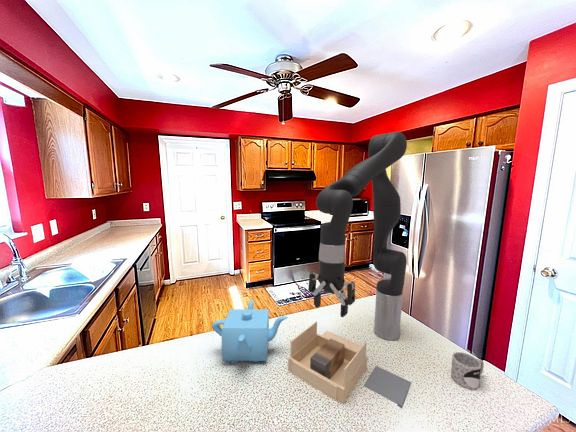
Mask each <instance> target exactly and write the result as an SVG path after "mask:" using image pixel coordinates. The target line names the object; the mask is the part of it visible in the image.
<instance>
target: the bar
mask: <svg viewBox="0 0 576 432" xmlns="http://www.w3.org/2000/svg"><path fill="white" fill-rule="evenodd" d="M344 347H345V345H344V344H342V343H340V342H338V341H335V340H333V339H329V340H328V341H327V342H326V343H325V344H324V345H323V346H322V347H321V348H320V349H319V350H318V351H317V352H316V353H315V354H314V355H313V356H312V357H311V359H310V369H312V370H314V371H315V372H317V373H319V374H321V375H322V376H324V377H326V378H328V379H329V380H330V379H331V377H332V376H333V375H334V374H335V372H336V371H337V370H338V369H339V368H340V366H341V365H342V364H343V363H344Z"/></svg>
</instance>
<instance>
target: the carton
mask: <svg viewBox="0 0 576 432" xmlns="http://www.w3.org/2000/svg"><path fill="white" fill-rule="evenodd" d="M317 332H318V321H314V323H312V324H311V325H309V326H308V327H307V328H306V329H305V330H303V331H302V332H301V333H299V334H298V335H297V336H295V337H294V338H292V339H291V340H290V347H289V348H290V355H289V357H288V359H287V361H288V364H287V365H288V366H287V370H288V371H289V372H291V373H292V375H294V376H295V377H297V378H299V379H300V380H302V381H304V382H305V383H307V384H309V386H311V387H313V388H315V389H316V390H318V391H319V392H321V393H323V394H324V395H326V396H327V397H329V398H330V399H332V400H334V401H335V402H336V401H338V402H339V403H340V404H342V405H344V403H345V402H346V401H347V399H348V397H349V395H351V393H352V391H353V390H354V388H355V387H356V385H357V384H358V382H359V380H360V379H361V378H362V376H363V374H364V373H365V371H367V365H368V356H367V344H368V343H367V341H365V342H364V343H363V344H359V343H357V342H356V341H352V340H351V339H347V338H345V337H344V336H341V335H339V334H336V333H334V332H332V331H329V330H326V331H325V332H324V333H322V334H318V333H317ZM329 339H333V340H335V341H338V342H340V343H342V344H344V345H345V347H344V363H343V364H342V365H341V366H340V368H339V369H338V370H337V371H336V372H335V374H334V375H333V376H332V377H331V379H330V380H329V379H328V378H326V377H324V376H322V375H321V374H319V373H317V372H315V371H314V370H312V369H310V359H311V357H312V356H313V355H314V354H315V353H316V352H317V351H318V350H319V349H320V348H321V347H322V346H323V345H324V344H325V343H326V342H327V341H328V340H329Z"/></svg>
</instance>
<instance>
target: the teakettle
mask: <svg viewBox="0 0 576 432" xmlns="http://www.w3.org/2000/svg"><path fill="white" fill-rule="evenodd" d="M287 319H288V316H285V315H283V316H279V317H277V318H276V319H275V321H274V322H273V326H271V328H270V309H260V308H259V309H255V308H254V300H253V299H250V300H249V302H248V307H247V308H246V309H244V308H243V309H240V308H239V309H231V308H230V309H229V311H228V313H227V315H226V317H225V319H219V320H215V321H214V322H213V323H212V329H213V331H214V332H215V333H217V335H218V336H220V337H221V362H229V364H230V365H236V364H238V363H239V362H253V363H259V362H267V360H268V350H269V349H268V347H269V342H271V341H273V340H274V338H276V336H277V333H278V329H279V327H280V325H281V323H282V322H283V321H285V320H287ZM220 325H222V327H221V326H220Z"/></svg>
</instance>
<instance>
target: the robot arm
mask: <svg viewBox="0 0 576 432" xmlns="http://www.w3.org/2000/svg"><path fill="white" fill-rule="evenodd" d="M407 141H408V140H407V138H406V135H405V134H403V132H400V131H392V132H388V133H381V134H376V135H373V136H372V137H371V138H370V140H369V143H368V158H366V159H364V160H363V161H361V162H359V163H357V164H355V165H354V166H353V167H351V168H350V169H349V170H348V171H347V172H346V173H345V174H344V175H343V176H342V177H341V178H339V179H338V180H336V181H334V182H332V183H331V184H329V185H328V186H327V185H326V187H324V188H323V189H322V190H321V191H320V192H319V193H318V195H317V197H316V199H315V200H316V201H315V205H316V208H317V210H318V211H319V212H321V213H324V214H327V215H328V214H329V215H331V216H332V217H331V219H330V221H329V222H328V221H326V222H324V223H322V224H321V227H320V243H319V251H318V273H317V271H313V272H311V273H310V274H309V278H308V292H309V293H312V295H313V305H314V308H316V309H318V308H320V307H321V302H322V294H321V292H322V291H324V292H326V293H330V294H331V295H335V296H336V298H337V299H338V300H339V301H340V303H341V304H340V317H341V318H344V317H346V316H347V314H348V313H349V306H352V305H353V304H354V303H355V302H356V283H355V282H354V281H351V282H348V281H345V269H346V230H347V228H348V227H347V226H348V224H349V220H350V217H351V214H352V211H353V207H354V199H353V198H354V197H357V196H358V195H359V194H361V192H362V191H363V190H364V189H365V188H366V187H367V186H368V185H369V184H370V183H372V186H371V187H372V211H373V214H372V215H373V225H374V226H373V228H374V231H373V233H374V237H373V255H372V257H373V259H372V262H373V267H374V269H375V270H376V271H378V272H381V273H383V274H387V275H390V279H381V280H378V281H377V283H376V288H375V289H376V291H375V292H376V293H375V307H374V308H375V309H374V324H373V332H374V334H375V335H376V336H377V337H379V338H380V339H383V340H387V341H396V340H398V339H399V338H400V334H401V333H400V332H401V318H402V305H403V293H404V292H403V290H404V286H405V278H406V277H405V276H406V271H407V256H406V253H404V252H403V251H400V250H399V251H398V250H394V249H389V248H388V246H387V244H388V238H389V235H390V233H391V232H392V230H394V228H395V227H396V225H397V224H398V222H399V221H400V218H401V213H402V212H401V210H402V209H401V208H402V207H401V206H402V204H401V196H400V194H399V192H398V190H397V189H396V187H395V186H394V184H393V183H392V181H391V180H390V178H389V176H388V173H387V169H388V168H389V167H391V166H392V165H394V164H395V163H396V162H398V161H400V160H401V159H402V158H403V156H404V155H405V153H406V151H407V148H408V147H407V146H408V142H407ZM317 281H318V282H319V285H318V286H317ZM344 288H345V289H344ZM345 290H346V291H345ZM346 293H347V294H346Z"/></svg>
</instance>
